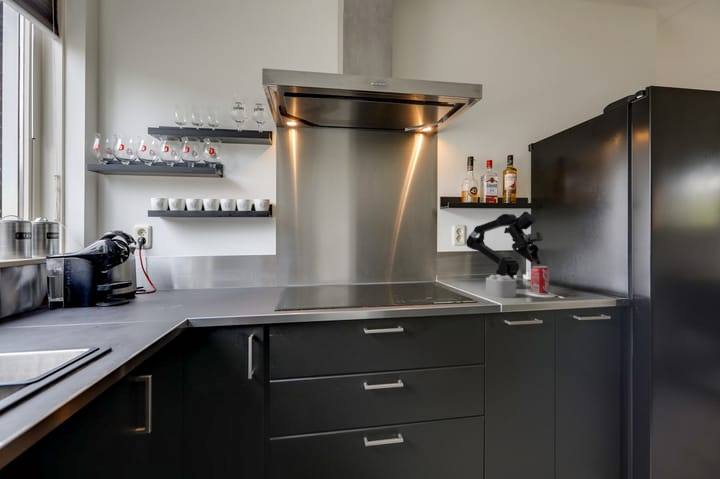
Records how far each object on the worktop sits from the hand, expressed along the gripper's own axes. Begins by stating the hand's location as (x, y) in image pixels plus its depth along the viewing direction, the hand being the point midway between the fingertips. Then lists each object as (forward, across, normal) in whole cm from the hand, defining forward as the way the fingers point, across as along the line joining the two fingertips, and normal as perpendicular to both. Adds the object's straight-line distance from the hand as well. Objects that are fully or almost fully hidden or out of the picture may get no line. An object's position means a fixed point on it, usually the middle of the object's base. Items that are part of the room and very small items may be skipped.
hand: (536, 263), depth 144 cm
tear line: (+16, +2, +1) cm, 16 cm away
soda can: (+13, -2, +5) cm, 14 cm away
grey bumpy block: (+9, -15, +17) cm, 24 cm away
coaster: (+14, -2, +5) cm, 15 cm away
